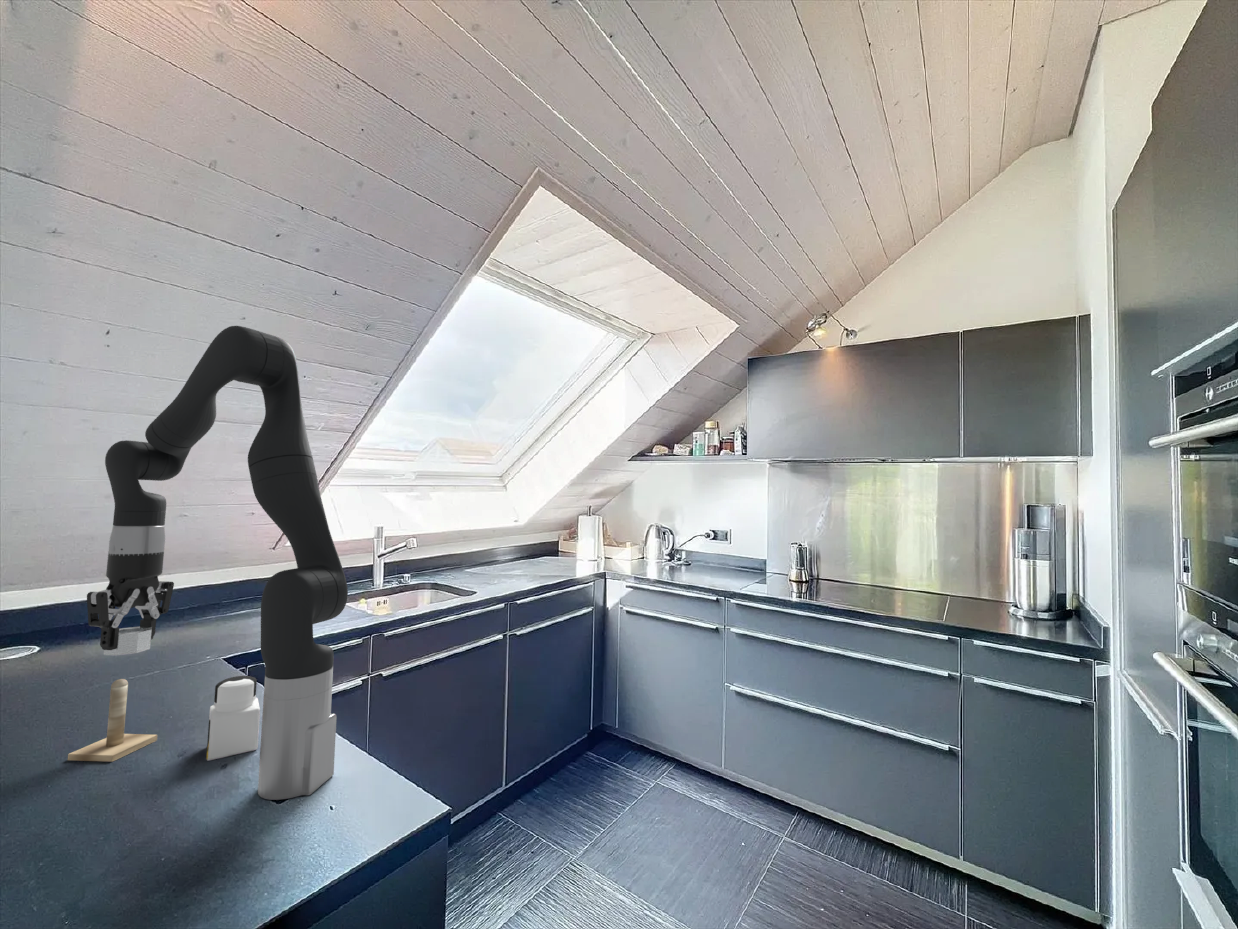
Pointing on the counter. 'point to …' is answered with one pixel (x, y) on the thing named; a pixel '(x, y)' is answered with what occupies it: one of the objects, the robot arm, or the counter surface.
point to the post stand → (114, 732)
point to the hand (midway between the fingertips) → (128, 644)
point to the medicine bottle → (233, 718)
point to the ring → (132, 641)
